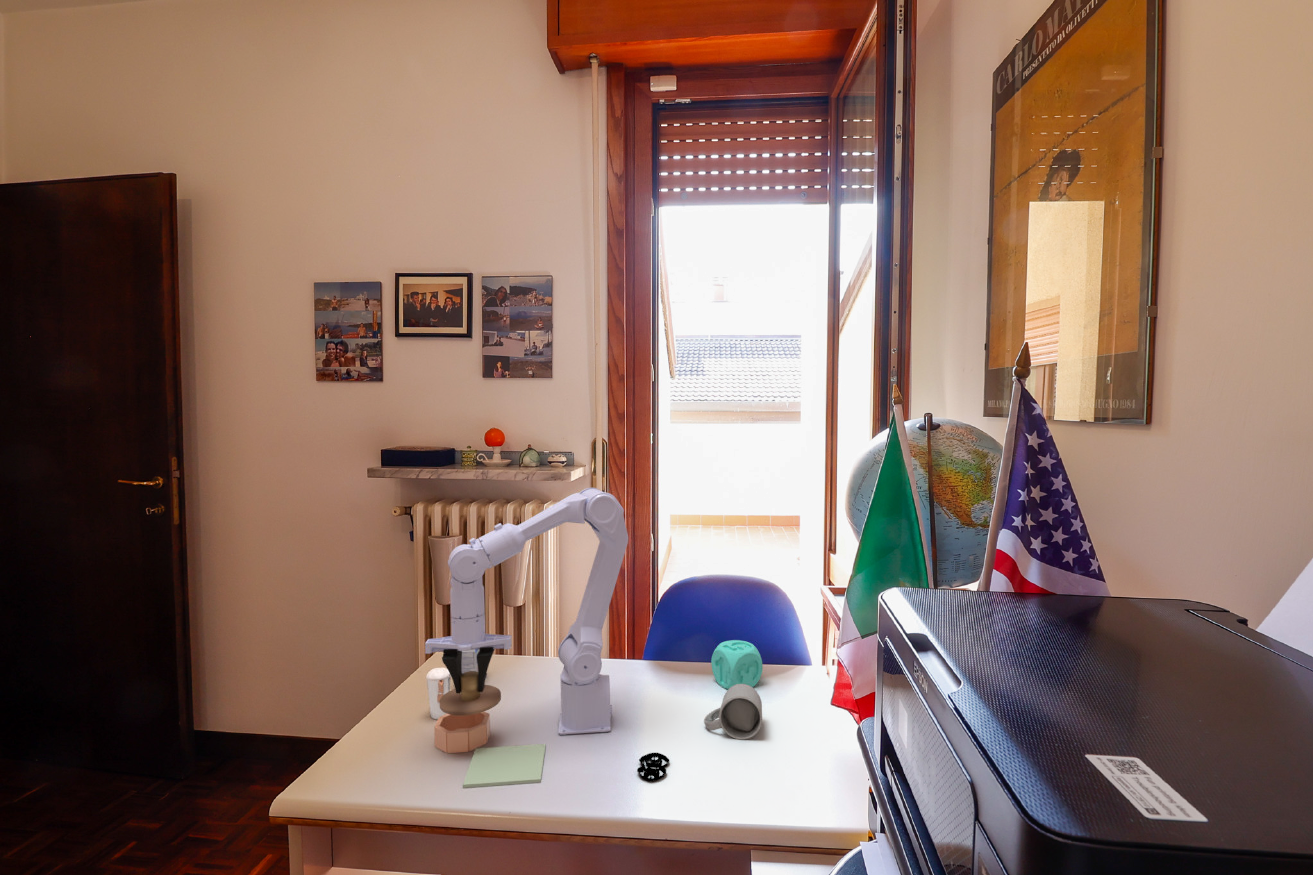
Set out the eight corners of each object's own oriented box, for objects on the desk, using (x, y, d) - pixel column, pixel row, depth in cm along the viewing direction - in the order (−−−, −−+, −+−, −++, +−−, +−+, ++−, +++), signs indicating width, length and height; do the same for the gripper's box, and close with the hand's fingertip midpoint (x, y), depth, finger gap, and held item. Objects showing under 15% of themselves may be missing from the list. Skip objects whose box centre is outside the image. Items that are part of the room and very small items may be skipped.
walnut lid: (504, 687, 119) (503, 661, 119) (496, 713, 109) (495, 685, 109) (447, 690, 118) (446, 664, 118) (433, 717, 108) (432, 689, 108)
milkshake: (448, 722, 122) (446, 670, 122) (422, 720, 123) (421, 668, 123) (460, 711, 127) (458, 661, 126) (435, 709, 128) (434, 659, 127)
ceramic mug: (762, 719, 121) (761, 679, 121) (762, 741, 113) (761, 698, 113) (706, 717, 123) (704, 677, 123) (702, 738, 115) (701, 696, 114)
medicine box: (476, 690, 136) (475, 650, 136) (455, 691, 136) (454, 650, 136) (487, 675, 144) (486, 637, 144) (467, 675, 144) (466, 637, 144)
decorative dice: (711, 680, 139) (710, 644, 139) (741, 672, 143) (740, 637, 143) (732, 694, 132) (731, 656, 132) (763, 686, 136) (763, 648, 136)
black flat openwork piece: (634, 783, 101) (634, 777, 101) (641, 757, 109) (641, 750, 109) (665, 785, 101) (665, 778, 101) (670, 758, 109) (670, 752, 108)
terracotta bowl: (492, 725, 120) (491, 707, 120) (484, 750, 111) (483, 730, 111) (443, 728, 120) (442, 710, 119) (431, 754, 111) (430, 734, 110)
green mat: (545, 746, 112) (545, 743, 112) (540, 782, 102) (540, 779, 102) (475, 751, 111) (475, 748, 111) (462, 787, 100) (462, 784, 100)
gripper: (419, 623, 108) (421, 702, 109) (506, 619, 109) (508, 697, 110) (430, 610, 115) (432, 685, 116) (512, 606, 116) (514, 680, 117)
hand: (470, 690), depth 113 cm, fingers closed on walnut lid, 3 cm apart
